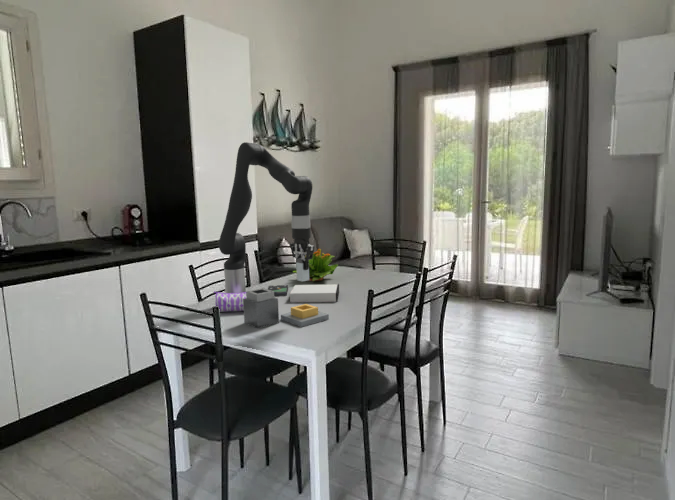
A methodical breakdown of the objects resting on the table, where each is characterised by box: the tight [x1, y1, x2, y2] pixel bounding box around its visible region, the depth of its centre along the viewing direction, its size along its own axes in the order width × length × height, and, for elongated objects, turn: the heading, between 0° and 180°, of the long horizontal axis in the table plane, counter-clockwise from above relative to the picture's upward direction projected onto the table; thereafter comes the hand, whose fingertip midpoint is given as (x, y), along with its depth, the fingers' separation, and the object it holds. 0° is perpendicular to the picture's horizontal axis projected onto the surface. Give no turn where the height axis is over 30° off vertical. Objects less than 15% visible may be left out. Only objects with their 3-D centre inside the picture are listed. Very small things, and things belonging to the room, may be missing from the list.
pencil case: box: [213, 290, 247, 313], centre depth 201 cm, size 22×9×10 cm, turn 103°
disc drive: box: [289, 283, 340, 303], centre depth 221 cm, size 18×22×5 cm
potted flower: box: [292, 248, 339, 283], centre depth 261 cm, size 25×24×18 cm
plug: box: [295, 257, 309, 282], centre depth 183 cm, size 4×4×9 cm
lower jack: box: [280, 303, 330, 328], centre depth 186 cm, size 14×14×5 cm
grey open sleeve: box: [243, 287, 280, 329], centre depth 182 cm, size 10×10×13 cm
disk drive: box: [267, 284, 289, 297], centre depth 233 cm, size 10×3×15 cm
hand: (302, 268), depth 183 cm, fingers closed on plug, 3 cm apart
